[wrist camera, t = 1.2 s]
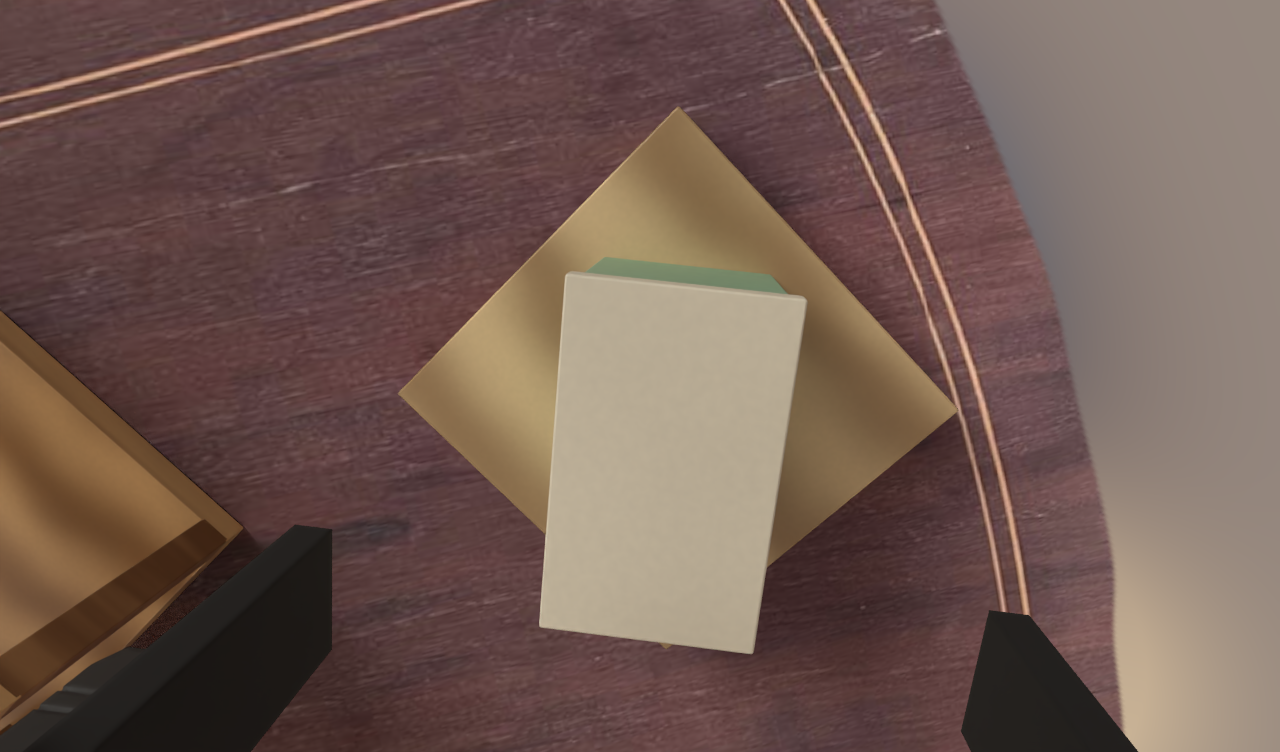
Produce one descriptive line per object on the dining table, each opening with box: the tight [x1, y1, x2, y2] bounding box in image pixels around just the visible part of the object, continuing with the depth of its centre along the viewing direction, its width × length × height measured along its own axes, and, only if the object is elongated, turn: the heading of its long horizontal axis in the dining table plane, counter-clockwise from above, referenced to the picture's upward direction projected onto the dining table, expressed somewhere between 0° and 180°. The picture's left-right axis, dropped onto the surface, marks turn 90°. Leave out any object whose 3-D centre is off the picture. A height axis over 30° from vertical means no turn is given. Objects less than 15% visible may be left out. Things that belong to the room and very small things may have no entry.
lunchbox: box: [539, 257, 808, 654], centre depth 27 cm, size 11×7×8 cm, turn 174°
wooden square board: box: [399, 106, 958, 649], centre depth 32 cm, size 16×16×3 cm
